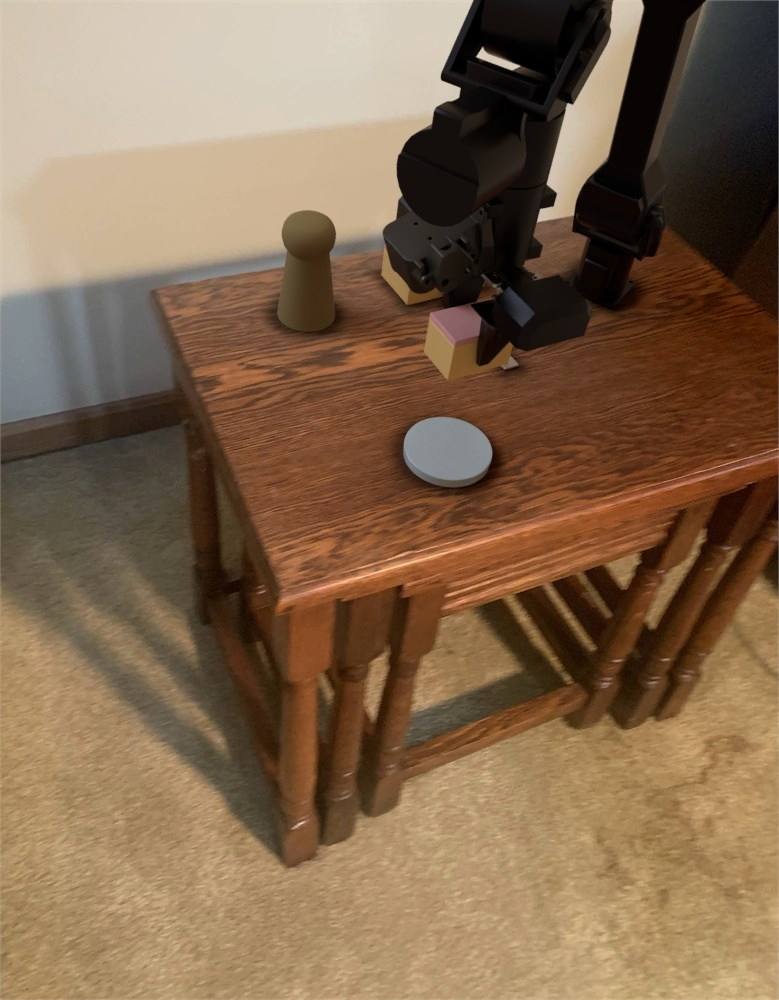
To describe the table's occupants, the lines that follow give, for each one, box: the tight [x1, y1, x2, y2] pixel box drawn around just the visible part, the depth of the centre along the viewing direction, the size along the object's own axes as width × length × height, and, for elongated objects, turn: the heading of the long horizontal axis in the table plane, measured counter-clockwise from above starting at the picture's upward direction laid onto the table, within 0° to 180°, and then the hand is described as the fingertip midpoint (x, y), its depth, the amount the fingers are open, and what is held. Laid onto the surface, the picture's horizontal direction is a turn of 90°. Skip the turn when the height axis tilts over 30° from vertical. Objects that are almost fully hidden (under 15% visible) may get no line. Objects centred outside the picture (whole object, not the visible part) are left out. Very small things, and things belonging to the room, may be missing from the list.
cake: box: [381, 244, 487, 306], centre depth 92 cm, size 6×10×4 cm, turn 118°
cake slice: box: [423, 297, 514, 381], centre depth 69 cm, size 4×6×4 cm, turn 118°
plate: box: [402, 416, 493, 488], centre depth 75 cm, size 8×8×1 cm
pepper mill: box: [276, 209, 337, 333], centre depth 83 cm, size 6×6×11 cm
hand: (468, 348), depth 70 cm, fingers closed on cake slice, 4 cm apart
